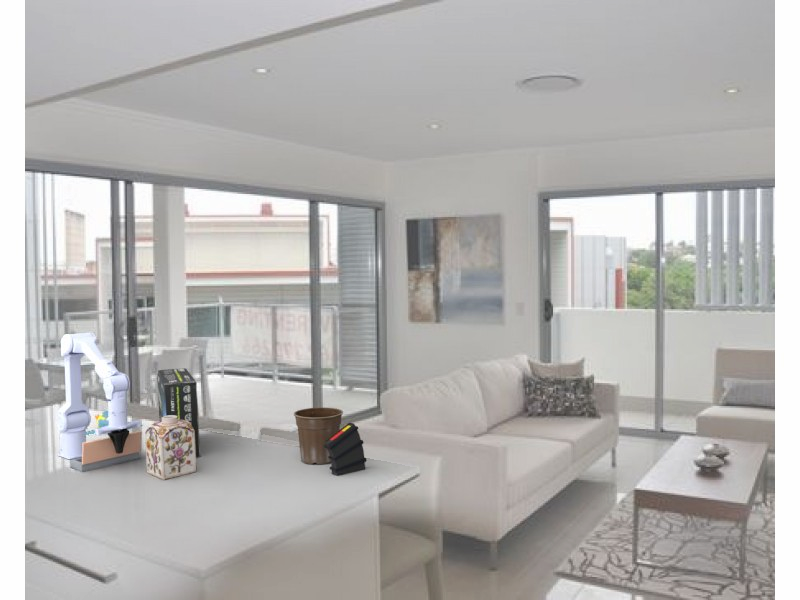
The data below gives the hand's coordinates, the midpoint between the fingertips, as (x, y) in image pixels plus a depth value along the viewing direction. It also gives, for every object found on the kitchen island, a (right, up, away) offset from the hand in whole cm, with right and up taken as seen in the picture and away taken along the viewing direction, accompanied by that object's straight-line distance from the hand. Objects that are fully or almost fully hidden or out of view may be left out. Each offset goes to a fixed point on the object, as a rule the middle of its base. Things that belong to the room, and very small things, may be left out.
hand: (119, 452), depth 230 cm
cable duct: (-7, -5, +7) cm, 11 cm away
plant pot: (+65, -3, +3) cm, 66 cm away
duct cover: (-4, +1, +3) cm, 5 cm away
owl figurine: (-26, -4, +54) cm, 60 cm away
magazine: (+75, -4, -11) cm, 76 cm away
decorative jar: (+19, -5, -7) cm, 21 cm away
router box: (+12, -4, +24) cm, 27 cm away
